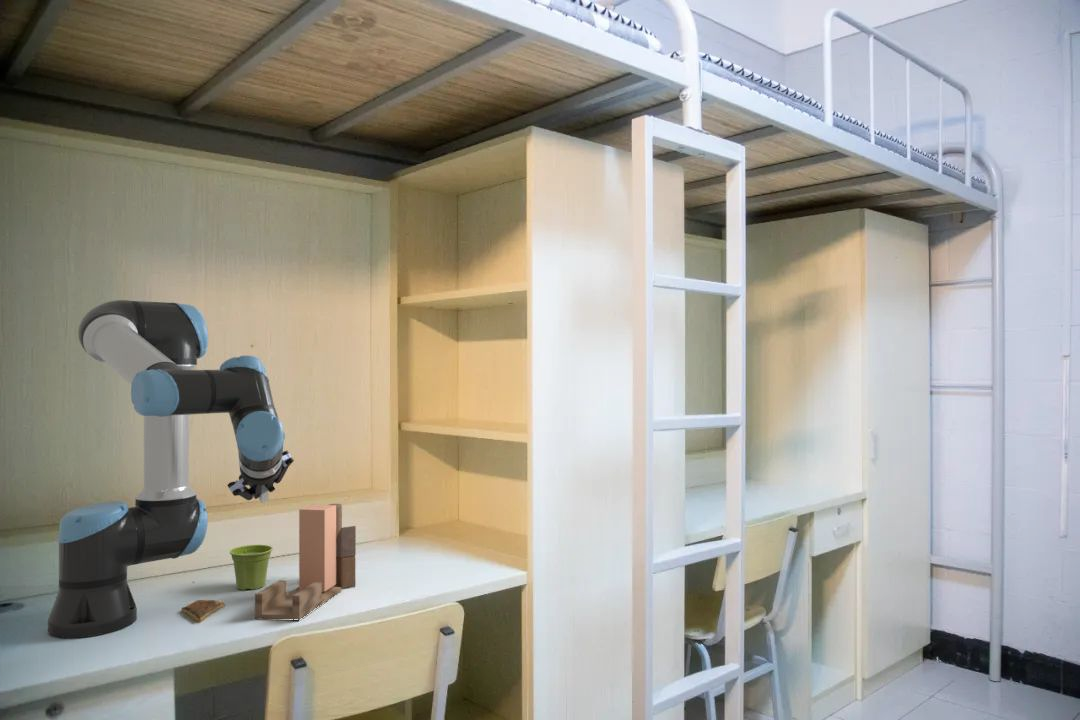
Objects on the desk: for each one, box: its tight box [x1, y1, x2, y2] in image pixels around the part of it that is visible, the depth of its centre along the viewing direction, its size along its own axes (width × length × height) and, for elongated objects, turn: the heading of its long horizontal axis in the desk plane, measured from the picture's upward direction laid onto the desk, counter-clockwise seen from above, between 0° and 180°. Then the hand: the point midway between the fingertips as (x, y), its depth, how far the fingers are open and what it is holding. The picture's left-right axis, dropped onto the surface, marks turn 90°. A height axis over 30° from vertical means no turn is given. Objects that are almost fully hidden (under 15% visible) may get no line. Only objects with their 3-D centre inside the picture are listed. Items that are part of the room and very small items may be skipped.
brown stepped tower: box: [328, 503, 357, 590], centre depth 177 cm, size 4×11×18 cm, turn 37°
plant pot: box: [229, 544, 274, 591], centre depth 174 cm, size 9×9×9 cm
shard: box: [181, 599, 226, 624], centre depth 154 cm, size 11×8×2 cm
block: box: [298, 504, 336, 592], centre depth 169 cm, size 6×6×18 cm
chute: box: [254, 579, 342, 621], centre depth 160 cm, size 20×10×5 cm, turn 171°
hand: (261, 496), depth 158 cm, fingers closed
